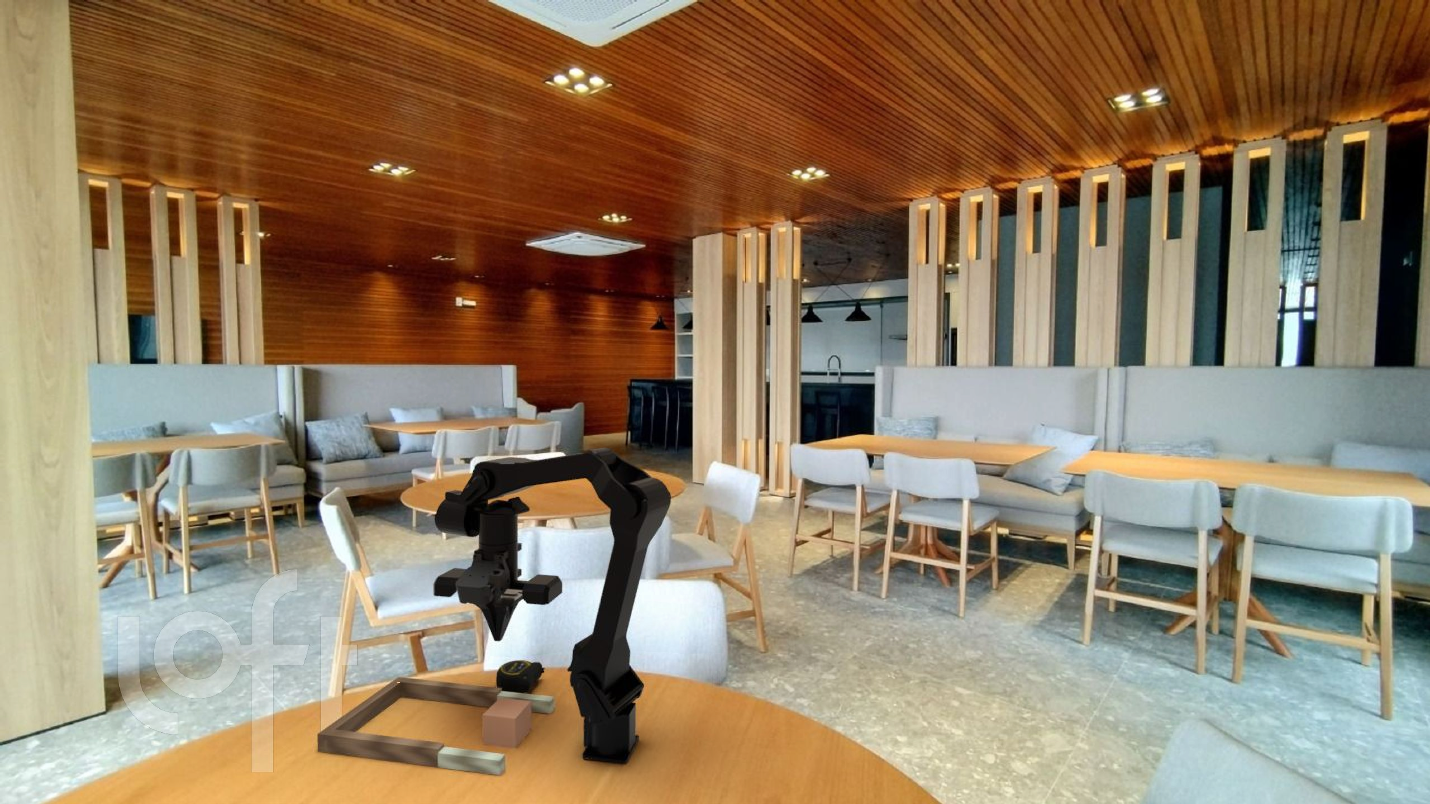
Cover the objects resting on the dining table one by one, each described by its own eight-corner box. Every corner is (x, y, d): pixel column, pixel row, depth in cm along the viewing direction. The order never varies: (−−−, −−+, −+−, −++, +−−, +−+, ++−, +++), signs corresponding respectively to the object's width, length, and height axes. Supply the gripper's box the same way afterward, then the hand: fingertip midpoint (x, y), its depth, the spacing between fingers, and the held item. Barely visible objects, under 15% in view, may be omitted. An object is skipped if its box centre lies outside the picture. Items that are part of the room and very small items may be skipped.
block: (530, 730, 99) (530, 701, 99) (515, 749, 94) (515, 718, 94) (500, 726, 100) (499, 697, 100) (482, 745, 95) (482, 714, 95)
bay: (554, 709, 105) (554, 693, 105) (499, 775, 88) (499, 757, 88) (398, 691, 110) (398, 676, 110) (317, 751, 93) (317, 733, 92)
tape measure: (528, 700, 108) (528, 678, 108) (488, 696, 109) (488, 674, 109) (544, 681, 115) (544, 660, 114) (507, 677, 116) (507, 656, 115)
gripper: (410, 550, 95) (410, 657, 96) (531, 559, 92) (531, 669, 92) (454, 532, 106) (454, 627, 107) (563, 539, 103) (563, 637, 103)
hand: (498, 640), depth 102 cm, fingers closed
